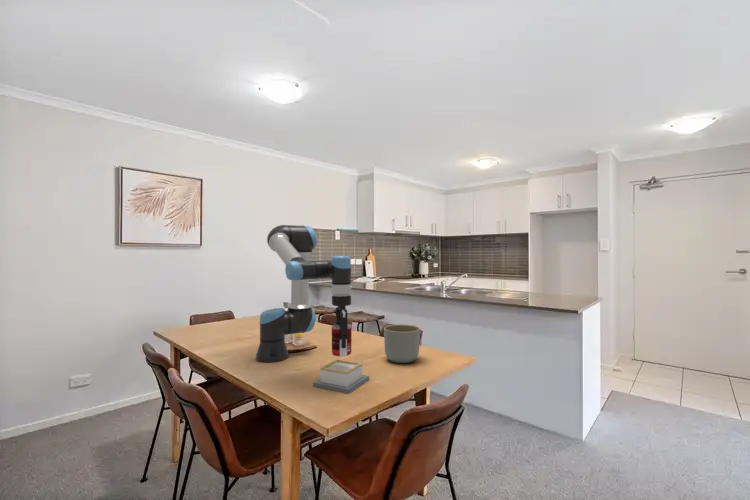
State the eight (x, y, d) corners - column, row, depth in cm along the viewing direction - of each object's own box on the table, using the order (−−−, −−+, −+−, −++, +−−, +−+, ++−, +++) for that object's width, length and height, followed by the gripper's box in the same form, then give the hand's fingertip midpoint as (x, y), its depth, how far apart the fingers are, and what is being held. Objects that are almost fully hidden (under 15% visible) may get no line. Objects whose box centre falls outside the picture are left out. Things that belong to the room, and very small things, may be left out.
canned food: (352, 351, 147) (352, 323, 147) (349, 356, 139) (349, 327, 139) (334, 350, 148) (334, 323, 148) (329, 356, 140) (329, 327, 140)
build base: (312, 386, 140) (312, 368, 140) (335, 373, 154) (335, 357, 154) (348, 393, 133) (348, 374, 133) (369, 379, 147) (369, 362, 147)
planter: (376, 359, 174) (376, 327, 174) (403, 353, 185) (403, 322, 185) (400, 368, 161) (400, 333, 161) (427, 361, 171) (427, 328, 171)
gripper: (355, 297, 134) (355, 359, 134) (346, 291, 154) (346, 345, 154) (335, 298, 132) (335, 361, 132) (328, 292, 152) (329, 346, 152)
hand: (341, 352), depth 143 cm, fingers closed on canned food, 8 cm apart
